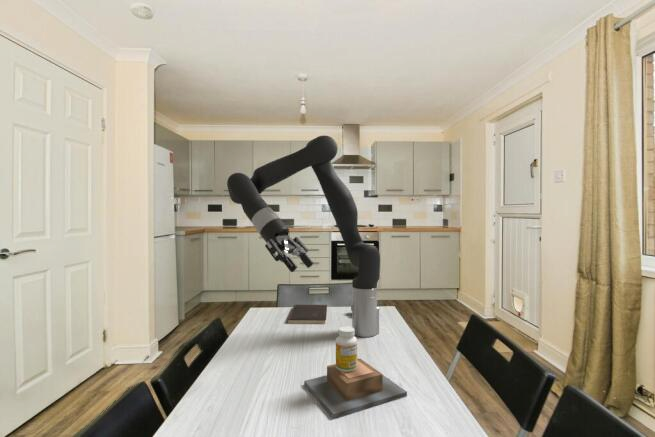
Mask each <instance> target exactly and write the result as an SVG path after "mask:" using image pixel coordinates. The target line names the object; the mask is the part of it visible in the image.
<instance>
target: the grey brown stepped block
mask: <svg viewBox="0 0 655 437" xmlns="http://www.w3.org/2000/svg"><path fill="white" fill-rule="evenodd" d="M303 384H304V386H305V387H306V388H307V390H308V391H309V392H310V393H311V394H312V396H313V397H315V399H316V401H317V402H319V404H320V405H321V406H322V407H323V408H324V410H326V411H327V413H328V414H329V416H330V417H332V419H333V420H334V419H337V418H338V419H339V418H341V417H344V416H347V415H350V414H353V413H357V412H360V411H363V410H366V409H370V408H372V407H376V406H379V405H382V404H385V403H388V402H393V401H396V400H398V399H401V398H404V397H407V396H408V391H406V389H404V388H403V387H401V386H400V385H398V384H397V383H395V382H394V381H393V380H391V379H390V378H388V377H387V376H385V375H384V374H383V373H381V372H380V371H379V370H377V369H376V368H375V367H373V366H371V365H370V364H369V363H368V362H366V361H364V359H362V358H357V369H356V370H354V371H351V372H342V371H340V370H338V369H337V368H336V363H334V364H329V365H327V366H326V374H325V375H321V376H318V377H313V378H311V379H310V378H309V379H306V380H304V381H303Z"/></svg>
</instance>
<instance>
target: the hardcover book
mask: <svg viewBox="0 0 655 437" xmlns="http://www.w3.org/2000/svg"><path fill="white" fill-rule="evenodd" d="M327 312H328V304H294V305H293V306H292V309H291V311H290V313H289V316H288V317H287V320H286V324H317V325H318V324H319V325H320V324H322V325H325V324H326V321H327Z"/></svg>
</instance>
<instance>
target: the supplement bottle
mask: <svg viewBox="0 0 655 437" xmlns="http://www.w3.org/2000/svg"><path fill="white" fill-rule="evenodd" d="M357 359H358V339H357V336H356V335H355V329H354V328H353V327H352V326H347V325H346V326H340V327H339V328H338V336H337V337H336V338H335V364H336V368H337V369H338V370H340V371H342V372H351V371H354V370H356V369H357Z"/></svg>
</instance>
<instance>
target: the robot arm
mask: <svg viewBox="0 0 655 437" xmlns="http://www.w3.org/2000/svg"><path fill="white" fill-rule="evenodd" d="M337 154H338V144H337V142H336V140H335V139H334V137H331V136H329V135H320V136H316V137H315V138H313V139H311V140H309V141H308V142H307V143H306V145H305V146H304V147H303V148H301V149H299V150H297V151H294V152H293V153H290V154H287V155H286V156H283V157H280V158H278V159H275V160H273V161H270V162H268V163H266V164H264V165H262V166H259V167H257V168H255V170H253V174H252V176H251V178H250V177H249V176H248V175H247V174H244V173H241V172H234V173H231V174H230V176H228V179H227V182H226V187H227V190H228V194H229V198H230V200H231V202H233V203H235V204H239V205H240V206H241V207H242V210H243V212H244V214H245V215H246V217H247V218H248V220H249V221H250V222H251V223H252V225H253V228H254V229H255V230H256V231H257V233H258V234H259V235H260V236H261V238H263V239H262V240H264V241H265V243H266V244H264V246H265V248H266V249H267V251H268V252H269V254H270V255H271V257H273V260H275V261H276V262H279V261H280V262H281V263H283V264H284V265H285V266H286V268H288V270H289V271H290V272H291V273H292V272H296V270H297V269H298V265H297V264H296V263H295V262H294V260H293V259H292V257H290V255H291V256H293V257H294V256H296V257H298V258H299V259H300V260H301V262H302V263H303V265H305V266H306V268H307V269H310V268H312V266H313V265H314V262H313V260H312V259H311V258H310V257H309V255H308V253H309V251H310V250H309V249H308V247H307V246H306V245H305V244H304V243H303V242H302V241H301V240H300V239H299V237H297V236H295V237H294V238H292V237H291V236H290V235H289V233H290V229H289V227H288V226H287V225H286V223H285V222H284V221H283V220H282V219H281V218H280V216H279V215H278V214H277V212H275V211H274V210H273V209H272V208H271V207H270V206H269V204H268V203H267V201H265V200H264V199H263V198H262V196H261V194H262V193H263V192H264V191H265V190H266V189H268V188H270V187H272V186H274V185H277V184H279V183H281V182H283V181H285V180H287V179H288V178H289V177H292V176H294V175H295V174H297V173H299V172H301V171H303V170H306V169H307V168H309V167H311V169H312V170H313V172H314V175H315V176H316V178H317V180H318V182H319V185H320V188H321V190H322V192H323V194H324V197H325V200H326V202H327V204H328V207H329V210H330V212H331V214H332V217H333V218H334V221H335V223H336V226H337V229H338V231H339V232H340V235H341V238H342V241H343V243H344V246H345V251H346V255H347V256H348V260H349V262H350V264H351V265H352V266H354V267H355V268H358V269H357V270H358V271H357V276H356V277H354V278H353V279H352V281H351V284H352V286H351V289H352V290H351V294H352V295H351V296H352V297H351V298H352V299H351V306H352V311H351V317H352V318H351V321H352V323H351V327H353V328H354V329H355V335H354V336H356V337H357V336H358V337H360V338H361V337H362V338H364V337H365V338H368V337H369V338H370V337H374V336H376V335H377V334H380V307H379V306H378V282H379V279H380V270H381V254H380V251H379V249H378V248H377V246H375V245H372V244H368V243H364V241H363V239H362V236H361V234H360V231H359V226H358V218H359V214H358V207H357V204H356V203H355V200H354V197H353V195H352V193H351V190H349V188H348V187H347V185H346V184H345V183H344V182H343V181H342V179H340V177H339V176H338V174H337V173H336V171H335V168H334V166H333V164H332V160H334V159H335V157H336V155H337ZM276 253H277V254H276Z"/></svg>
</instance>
